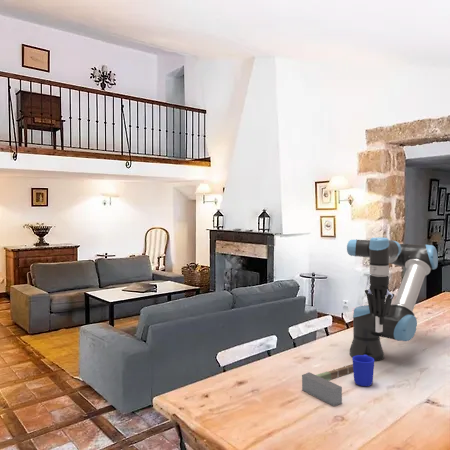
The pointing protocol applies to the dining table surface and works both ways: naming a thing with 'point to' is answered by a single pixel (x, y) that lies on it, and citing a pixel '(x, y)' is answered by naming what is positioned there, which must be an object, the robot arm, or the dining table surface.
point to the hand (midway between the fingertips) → (379, 331)
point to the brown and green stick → (336, 372)
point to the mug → (363, 370)
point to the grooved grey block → (322, 389)
